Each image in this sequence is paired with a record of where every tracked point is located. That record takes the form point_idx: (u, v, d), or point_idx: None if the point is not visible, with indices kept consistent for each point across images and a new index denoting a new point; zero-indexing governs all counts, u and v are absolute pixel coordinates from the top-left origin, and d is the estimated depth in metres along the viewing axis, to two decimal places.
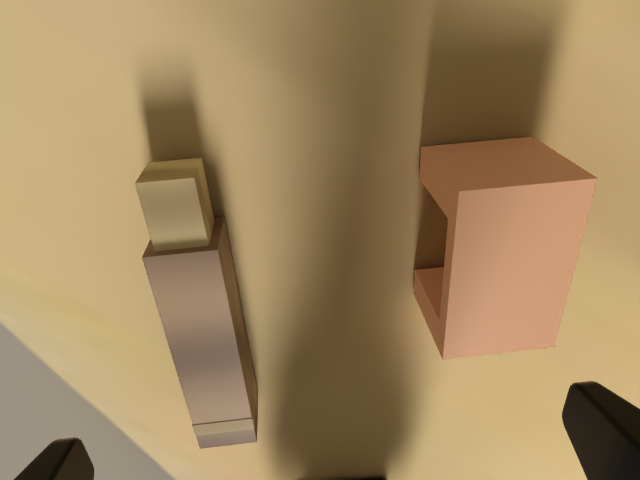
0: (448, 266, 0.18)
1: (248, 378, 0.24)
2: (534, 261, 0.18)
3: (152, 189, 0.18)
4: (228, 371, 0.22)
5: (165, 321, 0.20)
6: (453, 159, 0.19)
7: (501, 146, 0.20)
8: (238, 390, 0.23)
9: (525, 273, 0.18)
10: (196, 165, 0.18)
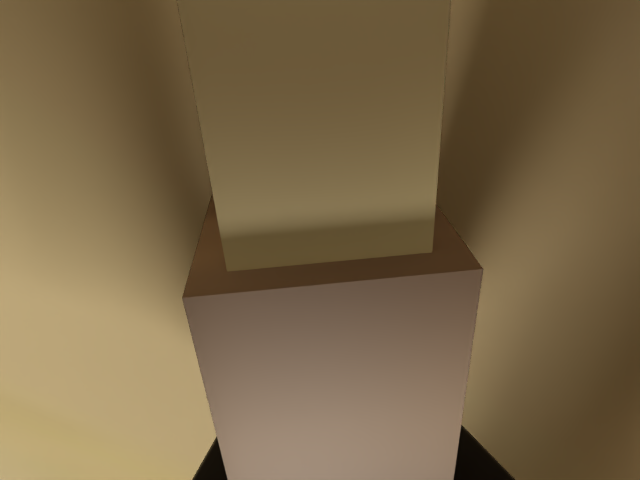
0: None
1: None
2: None
3: None
4: None
5: None
6: None
7: None
8: None
9: None
10: None
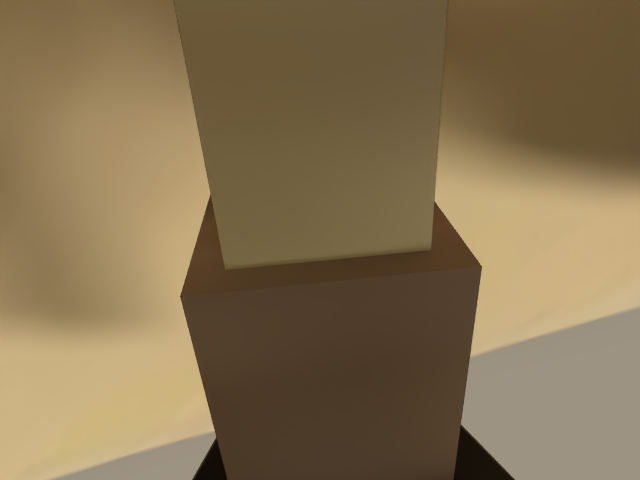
0: None
1: None
2: None
3: None
4: None
5: None
6: None
7: None
8: None
9: None
10: None
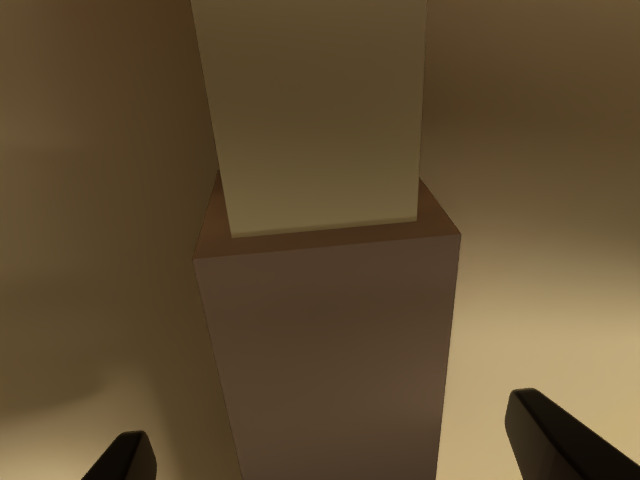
0: None
1: None
2: None
3: None
4: None
5: (248, 453, 0.07)
6: None
7: None
8: None
9: None
10: None
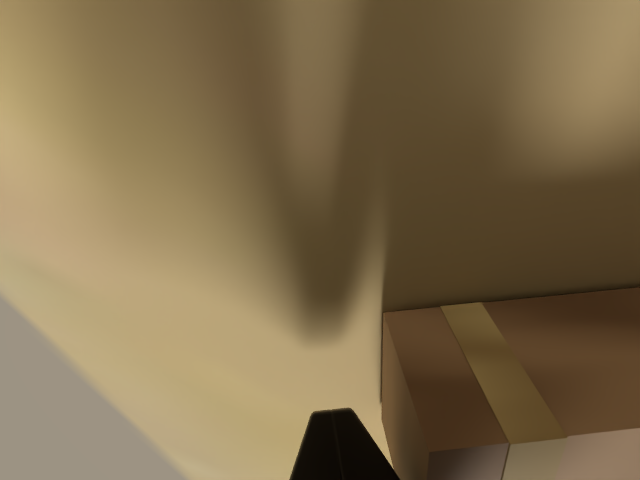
0: None
1: None
2: None
3: None
4: None
5: None
6: None
7: None
8: None
9: None
10: None
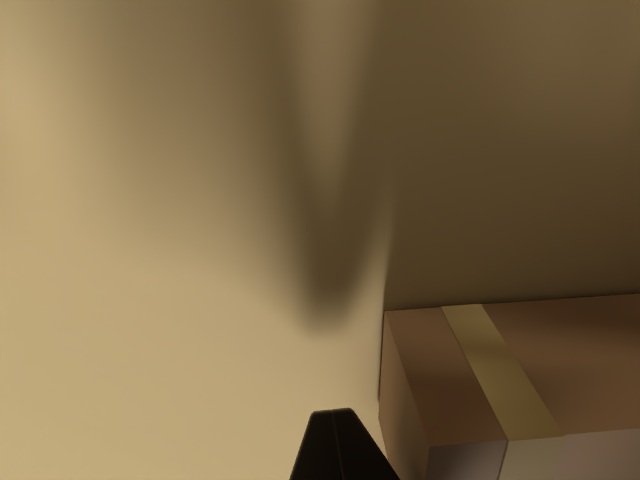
0: None
1: None
2: None
3: None
4: None
5: None
6: None
7: None
8: None
9: None
10: None
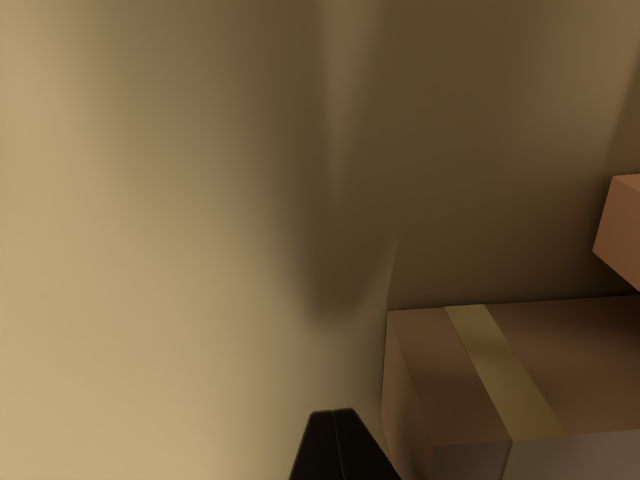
0: None
1: None
2: None
3: None
4: None
5: None
6: None
7: None
8: None
9: None
10: None
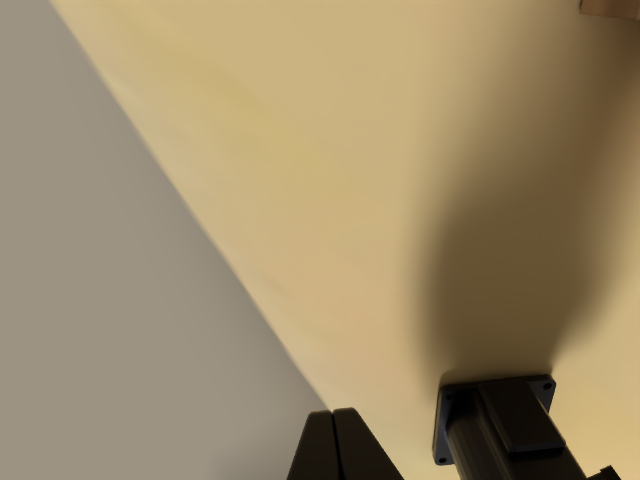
0: None
1: None
2: None
3: None
4: None
5: None
6: None
7: None
8: None
9: None
10: None
